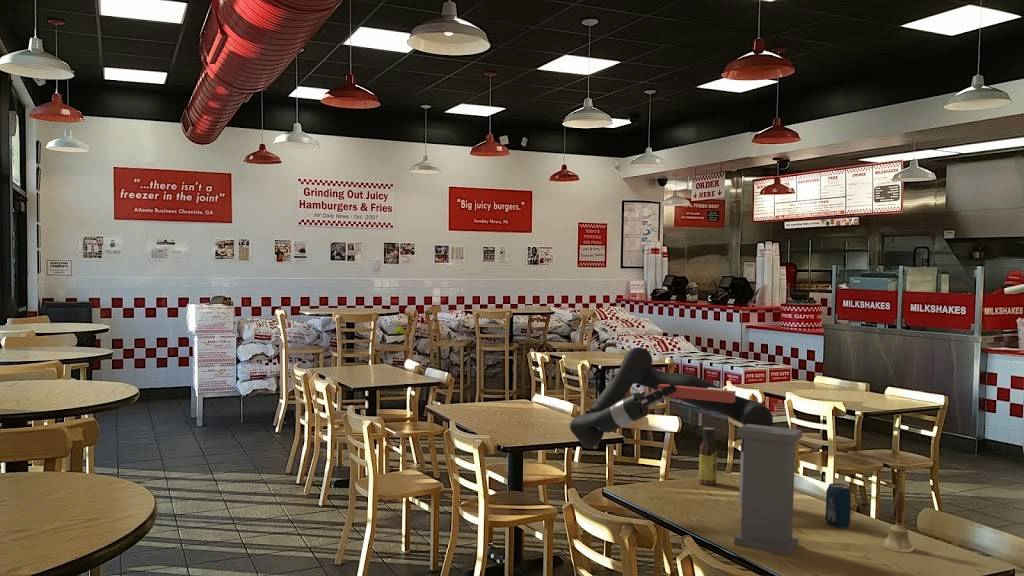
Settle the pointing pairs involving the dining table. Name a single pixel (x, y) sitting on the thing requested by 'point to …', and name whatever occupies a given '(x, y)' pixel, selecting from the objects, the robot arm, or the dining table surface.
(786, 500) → the pedestal
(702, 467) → the sauce bottle
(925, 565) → the dining table surface
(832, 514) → the soda can
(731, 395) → the red bar
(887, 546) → the hand bell
